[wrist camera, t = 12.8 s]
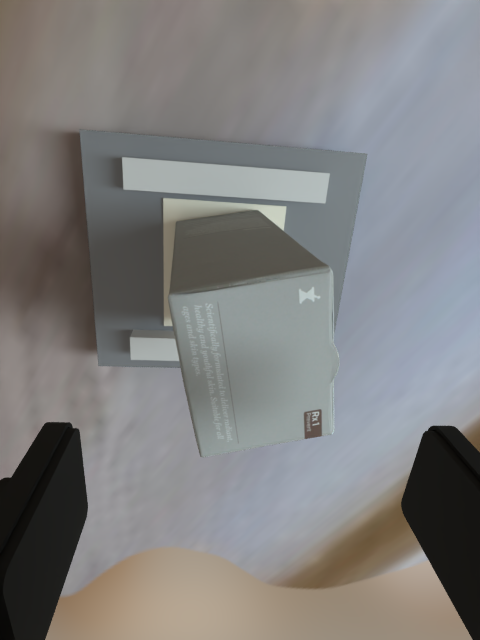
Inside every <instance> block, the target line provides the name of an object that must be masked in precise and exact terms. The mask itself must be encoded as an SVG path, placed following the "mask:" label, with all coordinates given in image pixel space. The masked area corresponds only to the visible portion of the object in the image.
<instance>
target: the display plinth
mask: <svg viewBox="0 0 480 640" xmlns="http://www.w3.org/2000/svg"><path fill="white" fill-rule="evenodd" d="M79 130H80V143H81V155H82V168H83V180H84V192H85V205H86V217H87V230H88V242H89V254H90V267H91V279H92V292H93V304H94V316H95V329H96V341H97V354H98V366H121V367H167V368H181V367H180V361H179V356H178V351H177V346H176V341H175V336H174V331H173V325H172V320H171V314H170V309H169V303H168V295H169V289H170V280H171V270H172V260H173V249H174V238H175V227H176V222H177V221H182V220H189V219H196V218H203V217H210V216H218V215H224V214H231V213H238V212H246V211H253V210H259V211H260V212H261V213H262V214H264V215H265V216H266V217H267V218H268V219H270V220H271V221H272V222H273V223H275V224H276V225H277V226H278V227H280V228H281V229H282V230H283V231H284V232H286V233H287V234H288V235H289V236H291V237H292V238H293V239H294V240H296V241H297V242H298V243H299V244H301V245H302V246H303V247H304V248H305V249H307V250H308V251H309V252H311V253H312V254H313V255H314V256H316V257H317V258H318V259H319V260H321V261H322V262H323V263H325V264H327V265H328V266H329V267H330V268H331V270H332V271H333V282H334V332H335V327H336V321H337V316H338V310H339V305H340V300H341V294H342V289H343V283H344V278H345V272H346V267H347V262H348V256H349V251H350V245H351V240H352V235H353V229H354V224H355V218H356V213H357V207H358V202H359V197H360V191H361V186H362V180H363V175H364V170H365V164H366V159H367V154H365V153H353V152H341V151H329V150H317V149H306V148H294V147H282V146H270V145H258V144H246V143H235V142H223V141H211V140H199V139H187V138H175V137H164V136H152V135H140V134H128V133H116V132H105V131H93V130H81V129H79Z"/></svg>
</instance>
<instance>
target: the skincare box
mask: <svg viewBox="0 0 480 640" xmlns="http://www.w3.org/2000/svg"><path fill="white" fill-rule="evenodd" d="M168 303H169V309H170V314H171V320H172V325H173V331H174V336H175V341H176V346H177V351H178V356H179V361H180V367H181V372H182V377H183V382H184V387H185V392H186V396H187V401H188V405H189V410H190V415H191V419H192V424H193V428H194V433H195V437H196V441H197V445H198V449H199V453H200V457H209V456H214V455H220V454H225V453H231V452H236V451H241V450H247V449H252V448H257V447H263V446H268V445H274V444H280V443H286V442H291V441H297V440H303V439H308V438H314V437H320V436H326V435H331V434H333V432H334V378H335V376H336V375H337V372H338V369H339V355H338V351H337V349H336V347H335V345H334V282H333V271H332V270H331V268H330V267H329V266H328V265H327V264H325V263H323V262H322V261H321V260H319V259H318V258H317V257H316V256H314V255H313V254H312V253H311V252H309V251H308V250H307V249H305V248H304V247H303V246H302V245H301V244H299V243H298V242H297V241H296V240H294V239H293V238H292V237H291V236H289V235H288V234H287V233H286V232H284V231H283V230H282V229H281V228H280V227H278V226H277V225H276V224H275V223H273V222H272V221H271V220H270V219H268V218H267V217H266V216H265V215H264V214H262V213H261V212H260V211H259V210H253V211H246V212H238V213H231V214H224V215H218V216H210V217H203V218H196V219H189V220H182V221H177V222H176V227H175V238H174V249H173V260H172V270H171V280H170V289H169V295H168Z"/></svg>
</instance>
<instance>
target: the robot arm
mask: <svg viewBox="0 0 480 640" xmlns="http://www.w3.org/2000/svg"><path fill="white" fill-rule="evenodd" d="M401 507H402V511H403V514H404V516H405V518H406V520H407V522H408V523H409V525H410V527H411V529H412V531H413V533H414V534H415V536H416V538H417V540H418V542H419V543H420V545H421V547H422V549H423V551H424V552H425V554H426V556H427V558H428V560H429V561H430V563H431V565H432V567H433V569H434V571H435V572H436V574H437V576H438V578H439V580H440V581H441V583H442V585H443V587H444V589H445V590H446V592H447V594H448V596H449V598H450V599H451V601H452V603H453V605H454V607H455V608H456V610H457V612H458V614H459V616H460V618H461V619H462V621H463V623H464V625H465V627H466V628H467V630H468V632H469V634H470V636H471V637H472V639H473V640H480V453H479V451H478V450H477V449H476V448H475V447H474V446H473V445H472V444H471V443H470V442H469V441H468V440H467V439H466V438H465V436H464V435H463V434H462V433H461V432H460V431H459V430H458V429H457V428H456V427H454V426H431V427H430V428H429V429H428V431H425V432H424V434H423V436H422V439H421V442H420V445H419V448H418V451H417V454H416V458H415V461H414V464H413V467H412V470H411V473H410V476H409V479H408V482H407V485H406V489H405V492H404V495H403V498H402V502H401ZM87 511H88V502H87V493H86V484H85V476H84V467H83V458H82V449H81V440H80V432H79V429H77V428H73V427H72V424H71V423H65V422H47V423H45V424H44V426H43V427H42V429H41V430H40V432H39V434H38V435H37V437H36V438H35V440H34V442H33V443H32V445H31V446H30V448H29V450H28V451H27V453H26V455H25V456H24V458H23V459H22V461H21V463H20V464H19V466H18V467H17V469H16V471H15V472H14V474H13V476H12V477H11V478H3V479H1V480H0V640H45V638H46V635H47V632H48V630H49V626H50V624H51V621H52V617H53V615H54V612H55V609H56V606H57V603H58V600H59V597H60V594H61V591H62V588H63V585H64V582H65V579H66V577H67V574H68V571H69V568H70V565H71V562H72V559H73V556H74V553H75V550H76V547H77V544H78V541H79V538H80V535H81V532H82V529H83V526H84V524H85V520H86V517H87Z"/></svg>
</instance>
